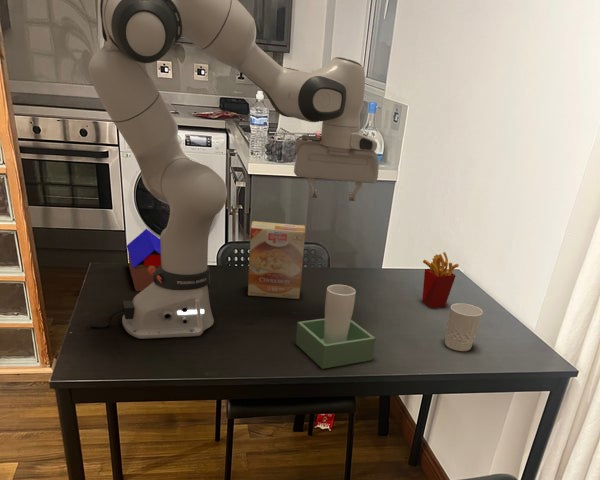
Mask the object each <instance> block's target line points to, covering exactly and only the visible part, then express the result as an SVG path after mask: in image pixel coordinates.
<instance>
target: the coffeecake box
mask: <svg viewBox="0 0 600 480" xmlns="http://www.w3.org/2000/svg"><path fill="white" fill-rule="evenodd" d="M250 225H251V226H250V236H249V238H250V239H249V259H248V260H249V261H248V280H247V296H254V297H265V298H278V299H279V298H280V299H291V300H293V299H295V300H300V294H301V284H302V274H303V263H304V253H305V242H306V225H304V224H302V225H301V224H291V223H281V222H280V223H278V222H268V221H256V220H252V221H251V224H250Z"/></svg>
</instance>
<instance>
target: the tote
mask: <svg viewBox="0 0 600 480" xmlns="http://www.w3.org/2000/svg"><path fill="white" fill-rule="evenodd" d="M376 339H377V338H376V337H375V336H374V335H372V334H371V333H369V332H368V331H367V330H366V329H364V327H362V326H360V325H359V324H358V323H357V322H355V321H354V320H352V319H351V323H350V327H349V331H348V336H347V340H346V341H344V342H338V343H332V344H325V343H324V318H317V319H311V320H302V321H297V324H296V335H295V345H296V346H297V347H299V348H300V349H301V350H302V352H304V353H305V354H306V355H307V356H308V357H309V358H310V359H311V360H312V361H313V362H314V363H315V364H317V366H319V368H321V369H322V370H324V369H330V368H335V367H341V366H347V365H352V364H359V363H365V362H370V361H373V357H374V351H375V346H376Z"/></svg>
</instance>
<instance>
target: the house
mask: <svg viewBox="0 0 600 480" xmlns="http://www.w3.org/2000/svg"><path fill="white" fill-rule="evenodd" d="M126 249H127V253H128V254H127V255H128V267H129V272H130V276H131V279H132V282H133V283H132V284H133V285H134V286H133V287H134V290H135V291H136V292H141V291H142V290H144V289H145V288H146V287H148V286H149V285H150V284H151V283H153V282H154V279H153V276H152V275H150V274H149V272H148V270H147V269H148V268H149V266H154V267H155V268H156V269H158V268H159V267H160V266H161V246H160V237H158V236H157V235H155V234H154V233H153V232H152V231H150V230H149V229H148V228H145V229H144V230H143V231H142V232H140V234H138V235H137V236H135V238H134V239H133V240H131V241H130V242H129V243H128V244H127V245H126Z"/></svg>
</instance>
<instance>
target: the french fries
mask: <svg viewBox="0 0 600 480" xmlns="http://www.w3.org/2000/svg"><path fill="white" fill-rule="evenodd" d="M444 259H445V260H444ZM422 263H423V264H425V265H426V266H427V267H428V268H425V269H424V274H423V288H422V297H421V298H422V299H421V302H422V303H423V304H424V305H425V306H427V307H429V308H430V309H438V308H446V306H447V305H446V304H447V302H448V299H449V296H450V293H451V290H452V289H453V288H452V287H453V285H454V281H455V279H456V274H455V273H453V271H454V269H456V268H458V267H460V264H459V263H455V264H453V262H449V259H448V255H447V253H446V252H445V251H443V252H442V253H440V254H437V253H436V254H435V255H434V256H433V258H432V261H431V262H429V260H426V259H423V261H422Z"/></svg>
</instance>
